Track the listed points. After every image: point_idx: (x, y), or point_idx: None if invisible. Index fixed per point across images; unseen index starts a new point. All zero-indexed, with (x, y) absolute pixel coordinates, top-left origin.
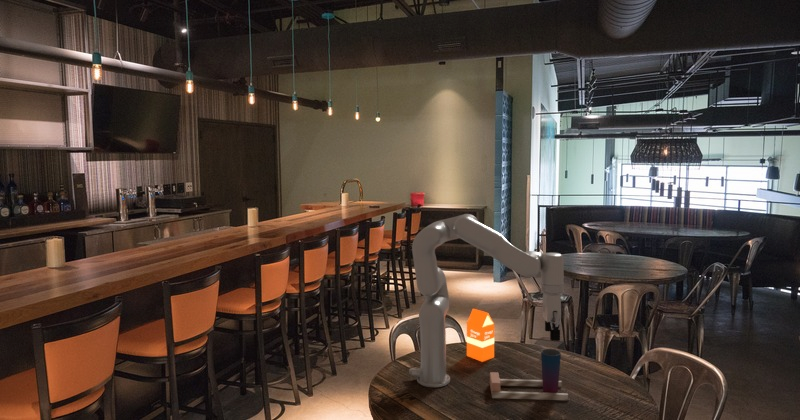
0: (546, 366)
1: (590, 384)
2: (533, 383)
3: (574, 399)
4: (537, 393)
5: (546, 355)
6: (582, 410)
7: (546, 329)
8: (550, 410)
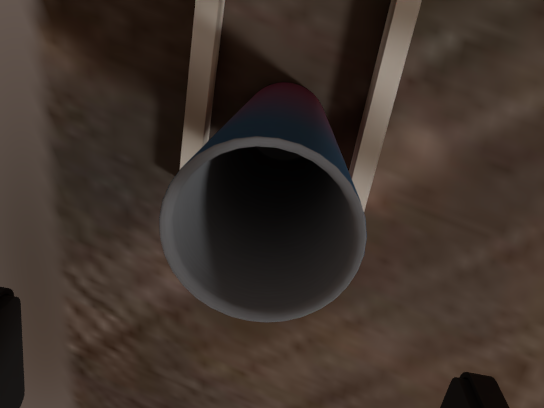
0: (217, 132)
1: (348, 349)
2: (381, 51)
3: None
4: (200, 16)
5: (188, 162)
6: (82, 206)
7: (461, 402)
8: (71, 43)
